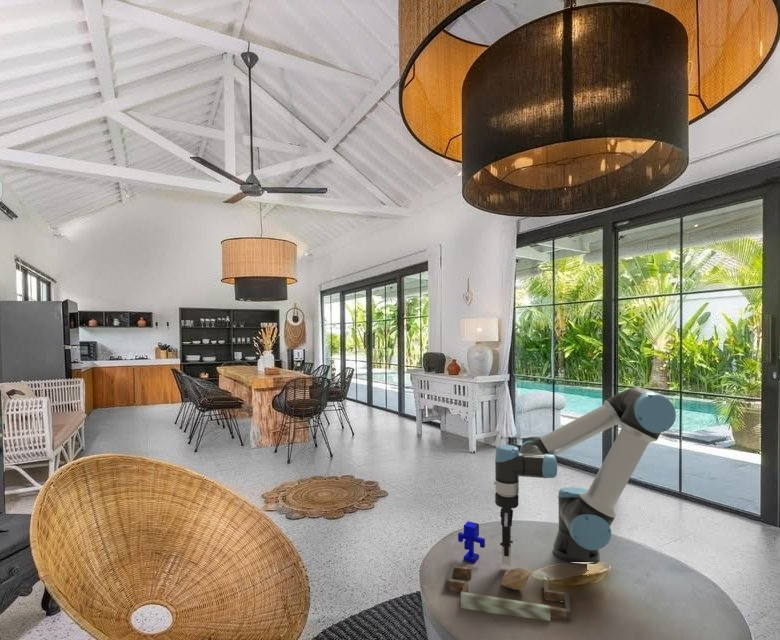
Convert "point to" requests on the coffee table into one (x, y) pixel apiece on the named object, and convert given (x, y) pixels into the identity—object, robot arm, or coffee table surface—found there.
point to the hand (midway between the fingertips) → (506, 563)
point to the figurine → (471, 540)
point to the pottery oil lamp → (515, 578)
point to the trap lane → (503, 604)
